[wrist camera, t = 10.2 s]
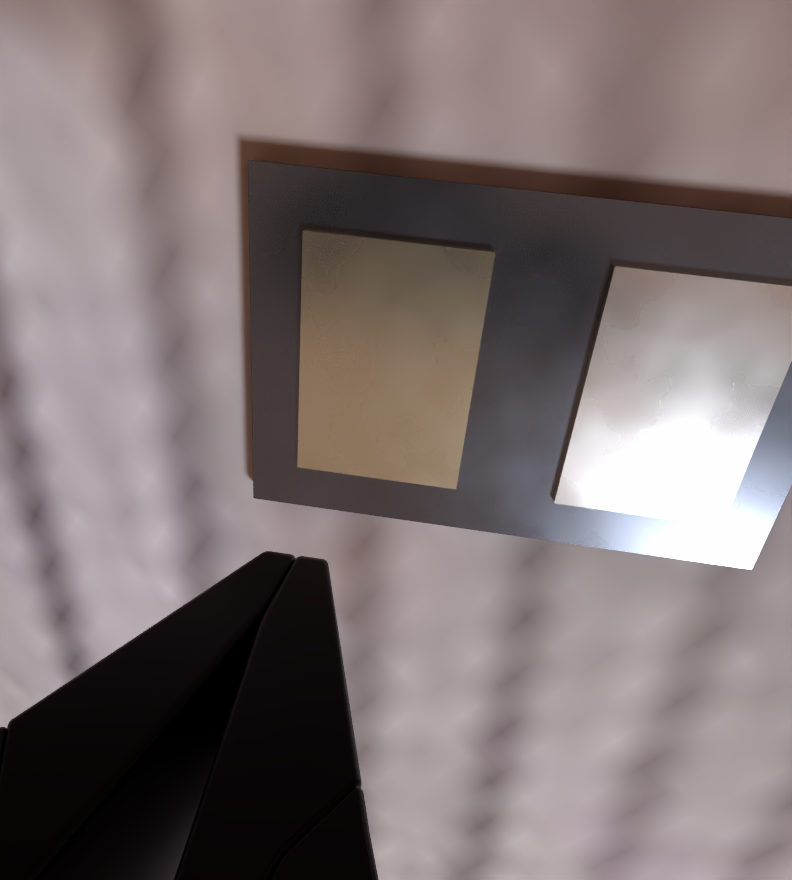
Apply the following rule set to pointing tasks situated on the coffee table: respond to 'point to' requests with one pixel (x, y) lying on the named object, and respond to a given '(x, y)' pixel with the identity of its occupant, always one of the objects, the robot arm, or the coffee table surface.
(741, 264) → the panel
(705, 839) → the coffee table surface
